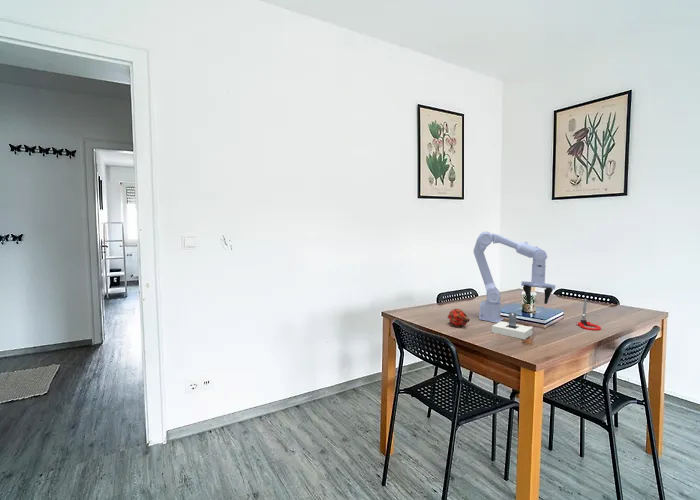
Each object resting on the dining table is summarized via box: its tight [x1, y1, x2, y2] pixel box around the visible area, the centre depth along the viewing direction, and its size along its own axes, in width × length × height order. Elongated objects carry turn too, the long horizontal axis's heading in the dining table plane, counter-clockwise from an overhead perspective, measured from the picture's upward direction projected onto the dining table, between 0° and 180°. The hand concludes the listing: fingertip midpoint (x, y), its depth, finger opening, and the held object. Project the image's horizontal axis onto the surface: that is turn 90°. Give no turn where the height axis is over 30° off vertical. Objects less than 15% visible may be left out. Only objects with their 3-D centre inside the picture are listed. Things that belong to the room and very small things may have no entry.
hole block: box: [491, 320, 534, 340], centre depth 166 cm, size 14×10×3 cm
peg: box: [508, 312, 517, 329], centre depth 165 cm, size 3×3×9 cm
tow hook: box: [575, 298, 602, 332], centre depth 173 cm, size 8×13×9 cm
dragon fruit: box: [447, 308, 470, 328], centre depth 178 cm, size 8×8×12 cm
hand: (537, 302), depth 179 cm, fingers open, 7 cm apart
